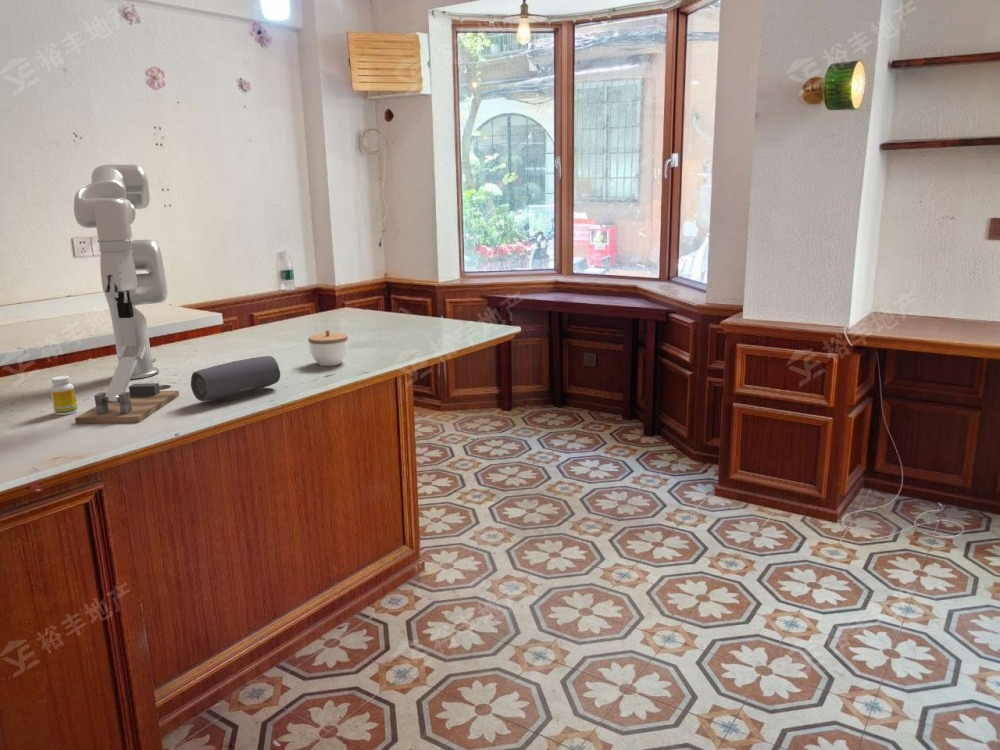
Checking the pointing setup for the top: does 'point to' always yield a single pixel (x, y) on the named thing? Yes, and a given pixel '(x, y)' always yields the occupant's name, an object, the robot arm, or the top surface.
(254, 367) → the bluetooth speaker
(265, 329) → the top surface
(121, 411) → the walnut board
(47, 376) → the top surface
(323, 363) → the lidded bowl
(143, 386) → the catch block
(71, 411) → the supplement bottle
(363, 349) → the top surface
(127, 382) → the lever
